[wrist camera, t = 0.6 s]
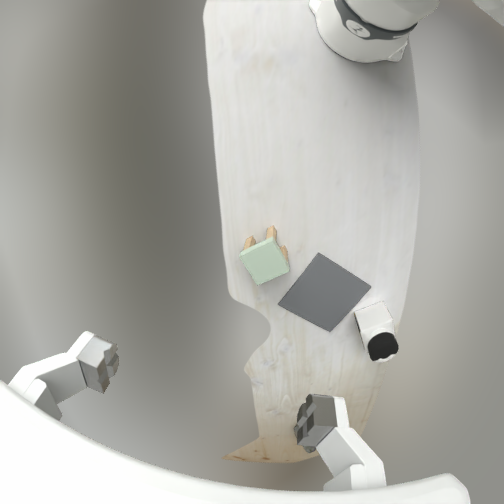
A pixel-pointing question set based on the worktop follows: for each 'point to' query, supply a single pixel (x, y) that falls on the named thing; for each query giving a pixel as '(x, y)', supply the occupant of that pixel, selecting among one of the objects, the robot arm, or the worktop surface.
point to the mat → (324, 293)
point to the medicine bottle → (377, 332)
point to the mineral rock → (307, 448)
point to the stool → (265, 258)
